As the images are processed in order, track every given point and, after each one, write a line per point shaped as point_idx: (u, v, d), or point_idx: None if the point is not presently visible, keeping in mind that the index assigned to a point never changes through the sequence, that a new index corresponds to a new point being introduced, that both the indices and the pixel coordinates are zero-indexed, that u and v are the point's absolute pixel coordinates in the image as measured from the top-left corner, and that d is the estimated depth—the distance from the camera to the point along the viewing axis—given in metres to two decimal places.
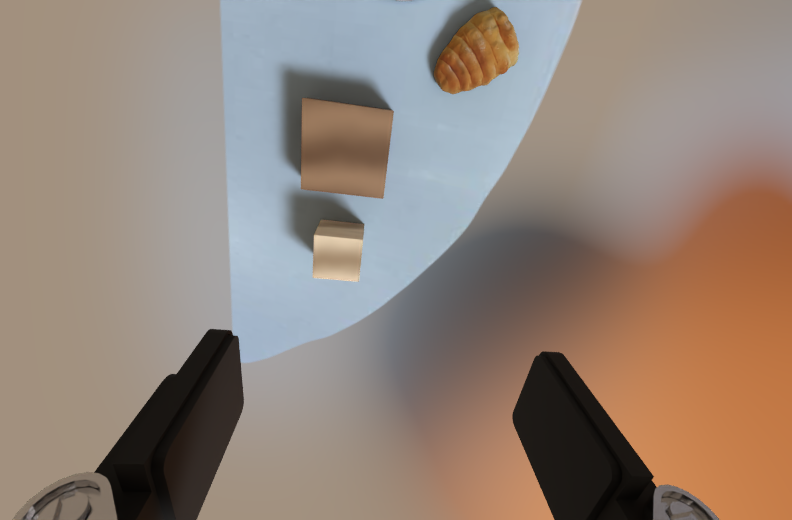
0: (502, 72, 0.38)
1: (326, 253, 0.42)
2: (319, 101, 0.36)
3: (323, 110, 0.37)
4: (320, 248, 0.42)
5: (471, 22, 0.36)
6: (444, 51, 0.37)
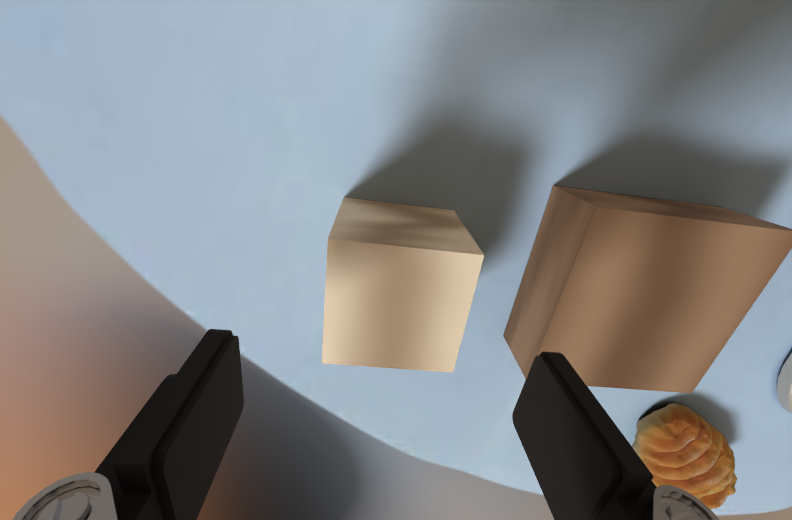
0: None
1: (419, 285, 0.13)
2: (775, 268, 0.16)
3: (755, 274, 0.16)
4: (437, 270, 0.13)
5: (730, 452, 0.25)
6: (704, 422, 0.25)
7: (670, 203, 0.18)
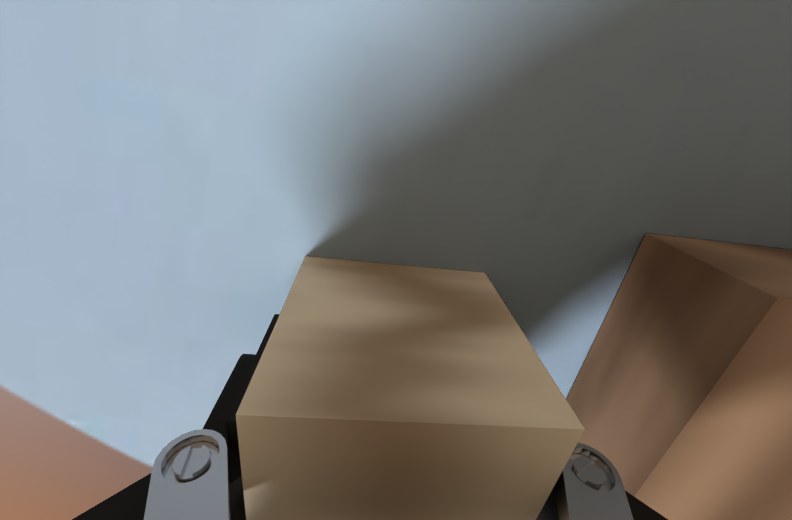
0: None
1: (442, 481, 0.06)
2: None
3: None
4: (481, 457, 0.06)
5: None
6: None
7: None
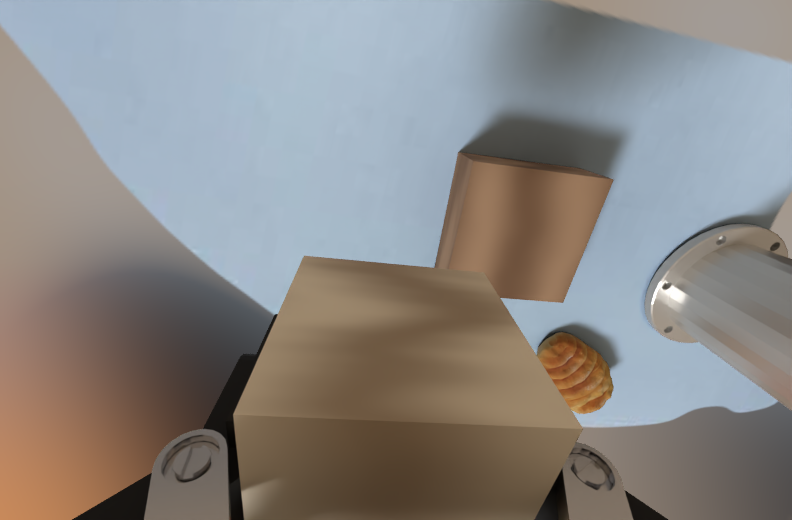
0: None
1: (441, 481, 0.06)
2: (601, 205, 0.24)
3: (588, 210, 0.24)
4: (479, 456, 0.06)
5: (605, 366, 0.34)
6: (582, 344, 0.33)
7: (539, 164, 0.25)
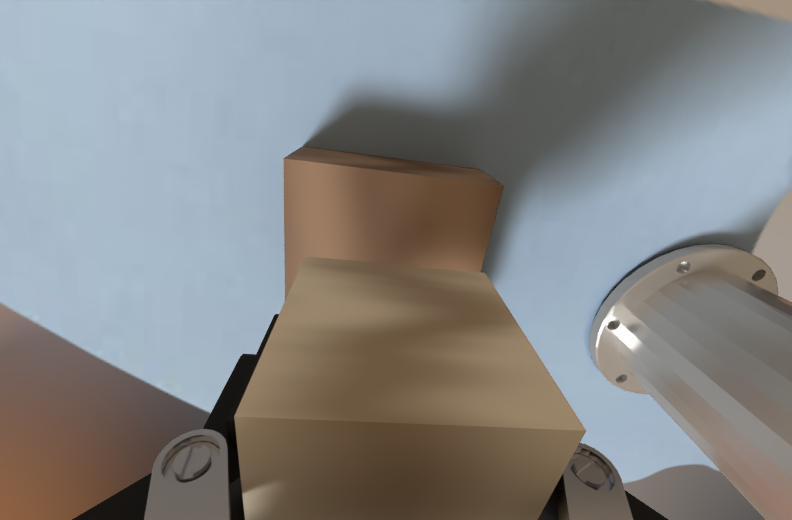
0: None
1: (443, 483, 0.06)
2: (491, 223, 0.16)
3: (473, 229, 0.16)
4: (482, 459, 0.06)
5: None
6: None
7: (414, 163, 0.18)
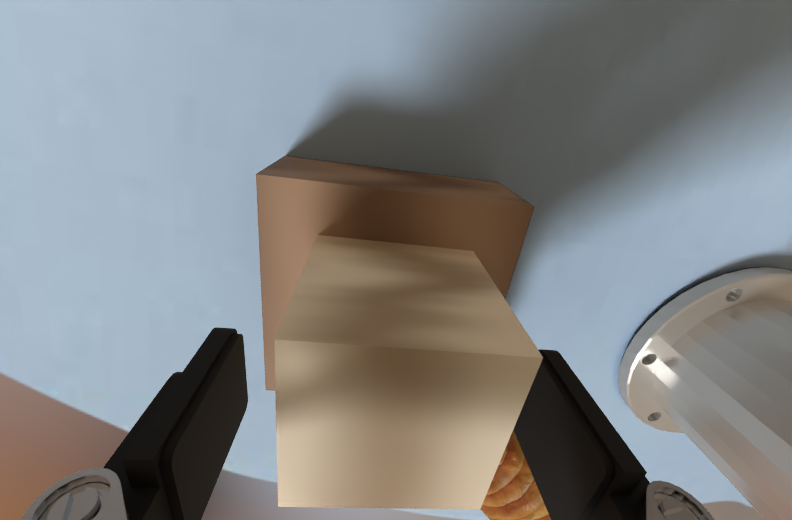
0: (489, 518, 0.24)
1: (433, 403, 0.08)
2: (517, 251, 0.13)
3: (494, 259, 0.13)
4: (463, 381, 0.08)
5: None
6: (517, 443, 0.23)
7: (420, 176, 0.15)
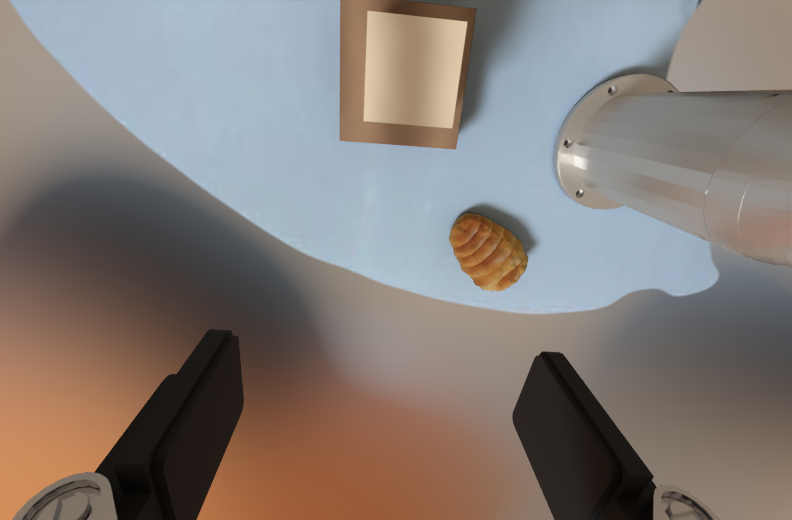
0: (475, 282, 0.37)
1: (426, 49, 0.21)
2: (470, 38, 0.26)
3: None
4: (437, 35, 0.20)
5: (515, 241, 0.36)
6: (488, 221, 0.35)
7: None
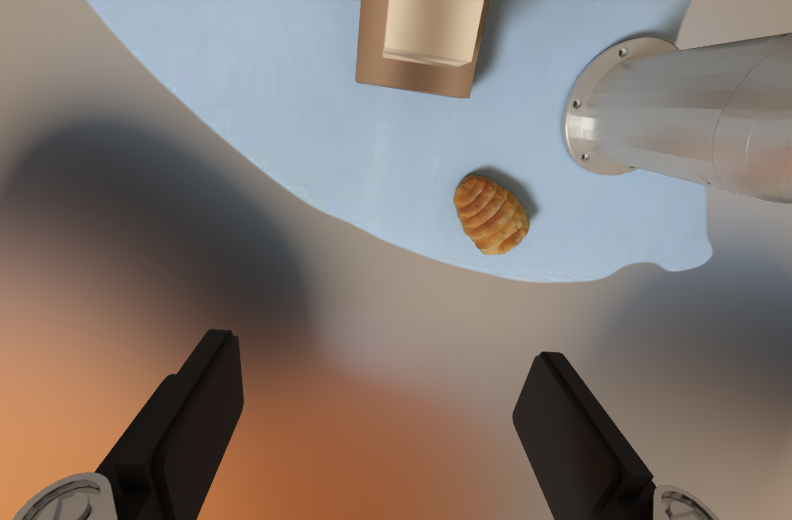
0: (477, 245, 0.38)
1: None
2: None
3: None
4: None
5: (518, 204, 0.36)
6: (492, 182, 0.36)
7: None
